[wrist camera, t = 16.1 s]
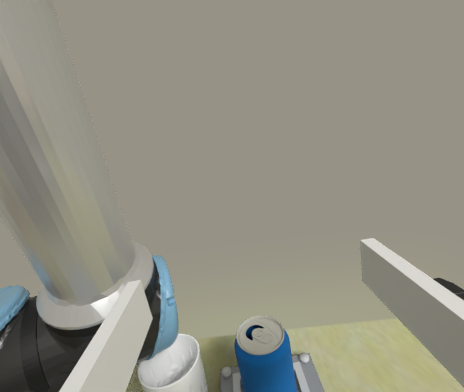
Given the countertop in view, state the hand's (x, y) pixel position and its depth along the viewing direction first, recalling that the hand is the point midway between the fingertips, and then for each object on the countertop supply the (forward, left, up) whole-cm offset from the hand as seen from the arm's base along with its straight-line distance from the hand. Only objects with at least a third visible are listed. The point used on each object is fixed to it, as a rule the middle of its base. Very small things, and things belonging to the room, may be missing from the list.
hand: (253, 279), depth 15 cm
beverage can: (0, +11, -26) cm, 29 cm away
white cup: (-12, +13, -28) cm, 33 cm away
